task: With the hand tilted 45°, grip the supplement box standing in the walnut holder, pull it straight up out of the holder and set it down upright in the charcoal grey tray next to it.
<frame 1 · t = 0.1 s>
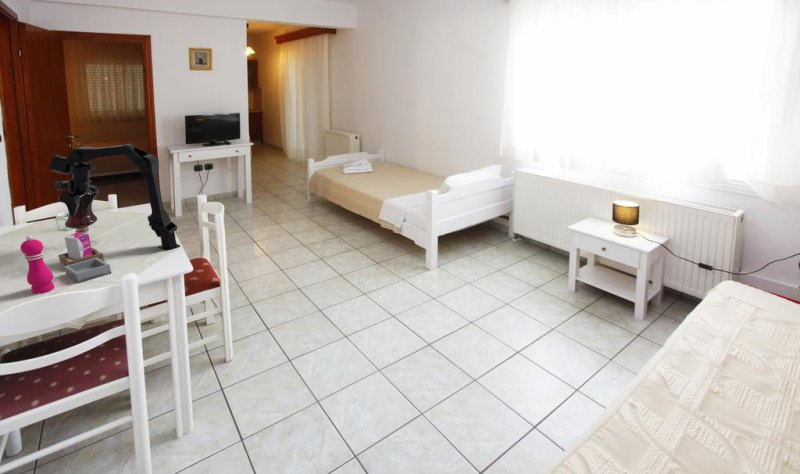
hand: (78, 213, 192), 15 cm above the table, tool pointing down, fingers open, 9 cm apart
holder: (82, 262, 182), on the table
pepper mill: (43, 290, 160), on the table
supplement box: (82, 262, 182), resting in holder
tray: (89, 274, 172), on the table
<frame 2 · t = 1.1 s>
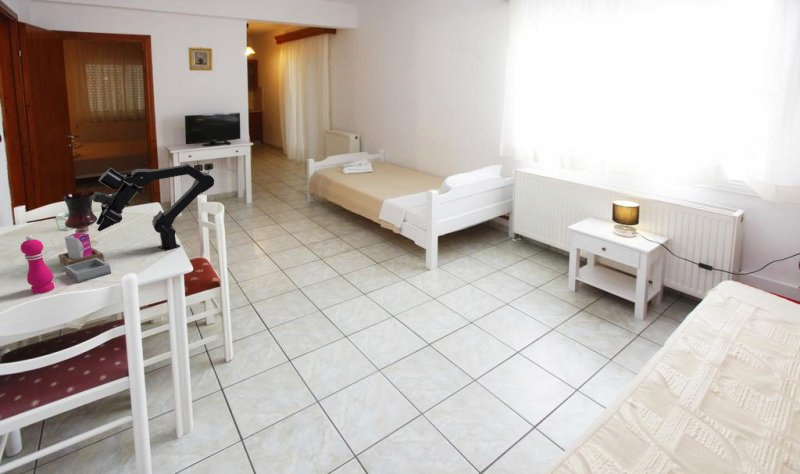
hand: (97, 227, 182), 13 cm above the table, tool tilted 45°, fingers open, 9 cm apart
nothing on the table moved.
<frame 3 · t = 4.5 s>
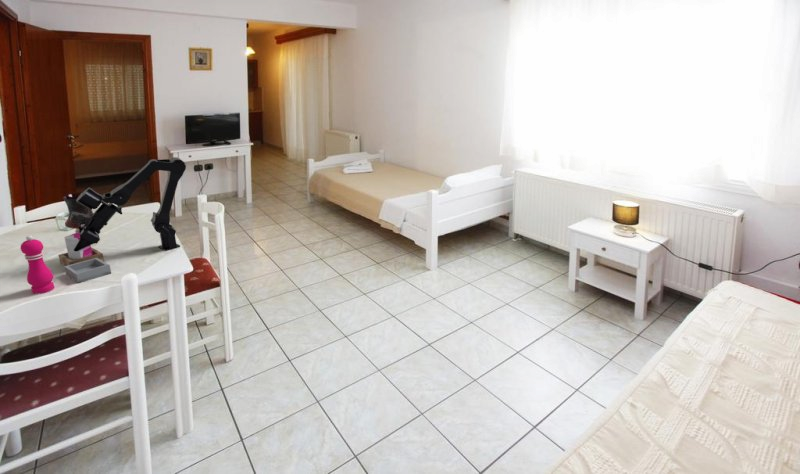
hand: (74, 247, 179), 7 cm above the table, tool tilted 45°, fingers closed on supplement box, 8 cm apart
supplement box: (82, 262, 182), resting in holder, touching gripper
everything else where it was.
when the fingers open (9 cm above the table, at t = 10.1 s): supplement box drops 1 cm, resting on tray.
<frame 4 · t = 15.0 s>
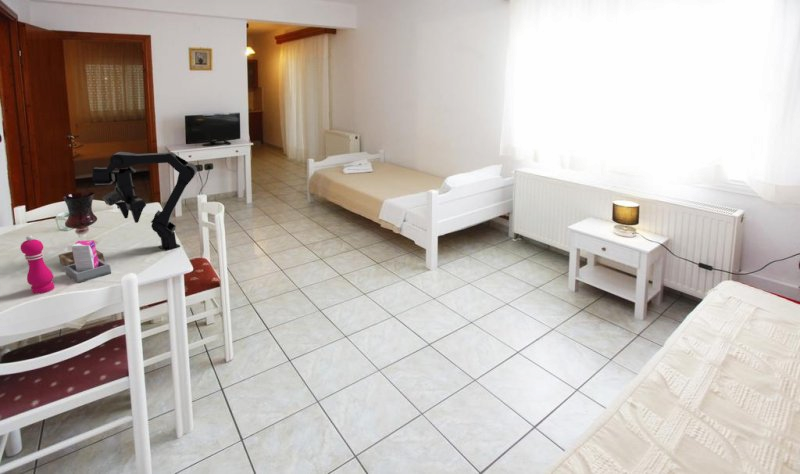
hand: (131, 220, 192), 13 cm above the table, tool pointing down, fingers open, 9 cm apart
supplement box: (89, 272, 172), point 1 cm above the table, touching tray
everything else where it was.
at the end: supplement box 0.2 cm off-centre on the tray, point 0.8 cm above the tray's base; supplement box tilted 0°; the gripper is holding nothing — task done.
